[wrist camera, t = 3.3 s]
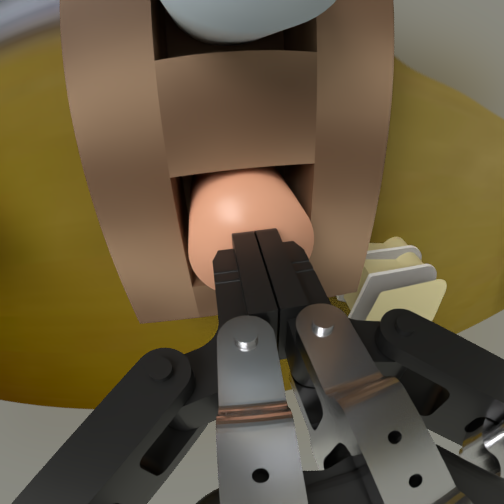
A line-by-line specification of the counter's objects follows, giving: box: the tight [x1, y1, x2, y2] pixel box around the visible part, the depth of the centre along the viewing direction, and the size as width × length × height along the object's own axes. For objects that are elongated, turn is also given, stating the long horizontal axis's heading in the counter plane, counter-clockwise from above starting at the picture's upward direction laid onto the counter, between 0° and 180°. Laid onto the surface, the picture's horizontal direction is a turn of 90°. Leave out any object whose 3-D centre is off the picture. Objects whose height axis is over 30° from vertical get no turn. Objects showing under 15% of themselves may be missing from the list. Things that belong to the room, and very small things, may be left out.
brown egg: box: [188, 166, 314, 290], centre depth 12 cm, size 4×4×5 cm
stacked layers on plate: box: [337, 237, 447, 321], centre depth 19 cm, size 10×9×6 cm
